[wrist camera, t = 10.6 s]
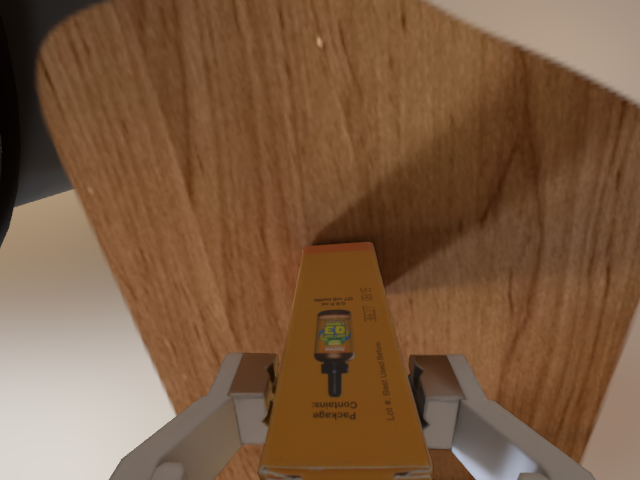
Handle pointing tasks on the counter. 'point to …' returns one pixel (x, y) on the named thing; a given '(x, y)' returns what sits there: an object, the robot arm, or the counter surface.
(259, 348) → the counter surface
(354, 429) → the supplement box
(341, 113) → the counter surface
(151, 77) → the counter surface
